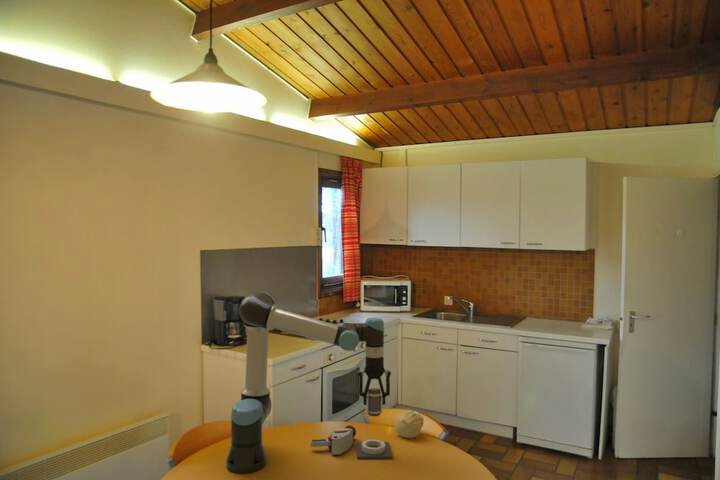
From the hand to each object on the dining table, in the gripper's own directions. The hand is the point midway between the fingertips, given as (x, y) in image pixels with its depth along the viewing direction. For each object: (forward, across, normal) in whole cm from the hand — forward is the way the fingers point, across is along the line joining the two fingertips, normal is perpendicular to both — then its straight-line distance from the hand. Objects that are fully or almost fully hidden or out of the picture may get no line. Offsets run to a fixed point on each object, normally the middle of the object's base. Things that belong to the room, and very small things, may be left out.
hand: (374, 412), depth 204 cm
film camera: (+16, -17, +6) cm, 24 cm away
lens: (+1, 0, 0) cm, 1 cm away
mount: (+16, 0, 0) cm, 16 cm away
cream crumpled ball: (+17, +17, +16) cm, 29 cm away
